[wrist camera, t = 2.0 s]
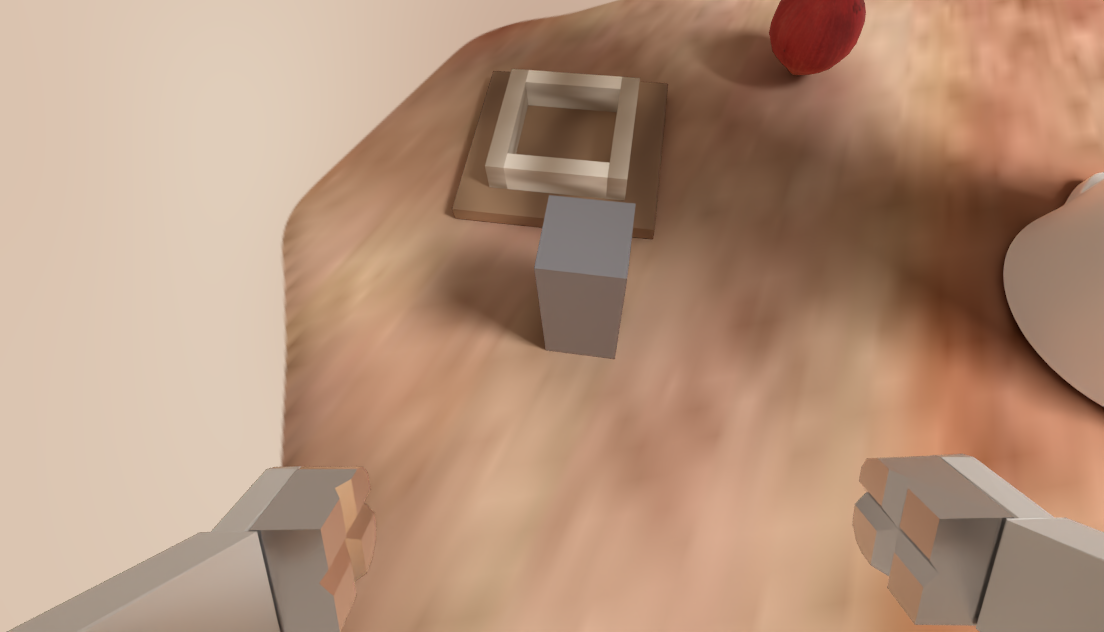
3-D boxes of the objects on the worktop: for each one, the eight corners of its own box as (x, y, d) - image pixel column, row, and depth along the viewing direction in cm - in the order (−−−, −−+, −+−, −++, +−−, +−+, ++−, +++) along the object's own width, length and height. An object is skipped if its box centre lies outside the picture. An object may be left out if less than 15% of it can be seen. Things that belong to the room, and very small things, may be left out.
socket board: (665, 95, 40) (672, 59, 37) (652, 239, 34) (658, 209, 32) (495, 82, 42) (489, 47, 39) (455, 218, 36) (445, 188, 33)
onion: (809, 38, 42) (855, -74, 35) (853, 85, 40) (913, -25, 33) (742, 58, 41) (776, -51, 34) (783, 108, 39) (829, 1, 32)
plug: (621, 298, 33) (635, 203, 25) (614, 359, 31) (627, 278, 23) (556, 290, 33) (548, 195, 25) (545, 350, 31) (534, 268, 23)
